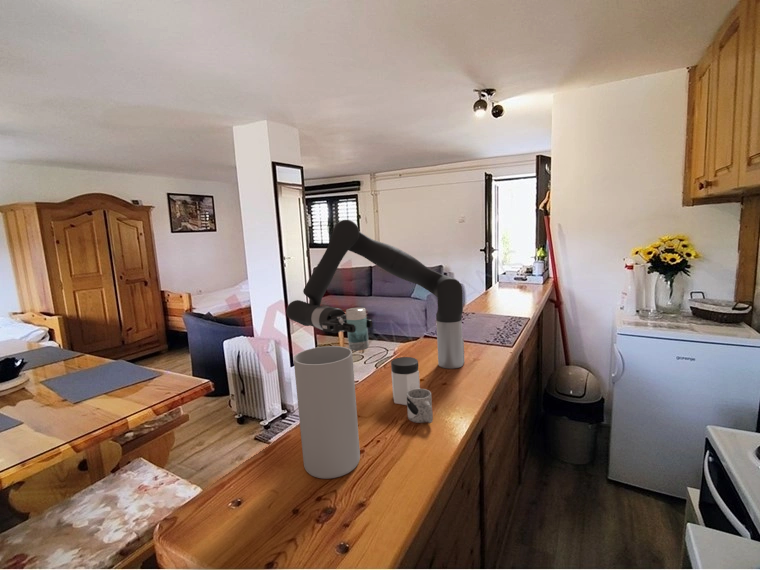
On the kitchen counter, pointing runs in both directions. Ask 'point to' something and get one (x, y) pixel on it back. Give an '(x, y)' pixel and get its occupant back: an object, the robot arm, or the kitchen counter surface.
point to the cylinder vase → (327, 411)
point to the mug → (419, 406)
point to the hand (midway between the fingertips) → (362, 326)
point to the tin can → (357, 329)
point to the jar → (404, 378)
